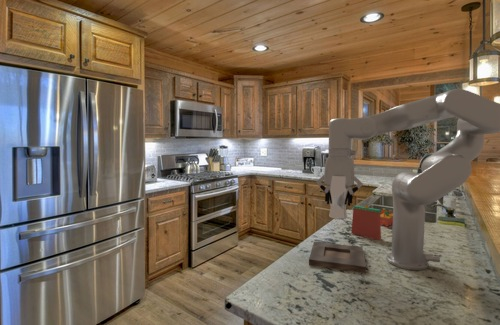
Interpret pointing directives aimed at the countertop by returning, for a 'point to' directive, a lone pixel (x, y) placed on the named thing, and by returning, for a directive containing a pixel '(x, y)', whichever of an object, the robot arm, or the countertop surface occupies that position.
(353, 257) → the coaster board
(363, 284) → the countertop surface
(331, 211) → the beer glass
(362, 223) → the toy building block set
